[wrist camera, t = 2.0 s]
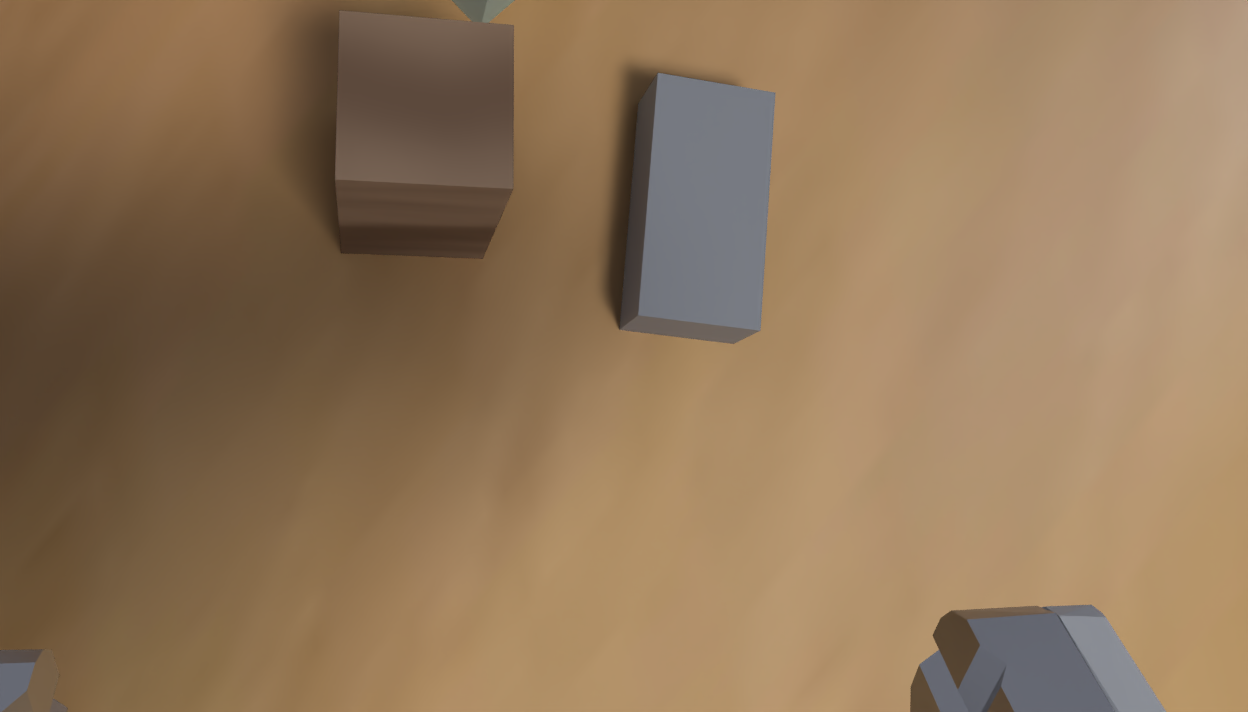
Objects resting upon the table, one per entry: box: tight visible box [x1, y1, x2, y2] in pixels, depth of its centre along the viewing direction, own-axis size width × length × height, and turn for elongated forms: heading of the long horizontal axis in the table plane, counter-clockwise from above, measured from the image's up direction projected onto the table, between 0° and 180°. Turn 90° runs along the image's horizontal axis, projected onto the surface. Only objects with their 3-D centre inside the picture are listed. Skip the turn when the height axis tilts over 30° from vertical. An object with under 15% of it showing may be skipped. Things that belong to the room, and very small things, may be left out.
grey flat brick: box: [619, 73, 775, 344], centre depth 38 cm, size 8×4×3 cm, turn 175°
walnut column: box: [335, 10, 514, 259], centre depth 33 cm, size 4×4×8 cm
